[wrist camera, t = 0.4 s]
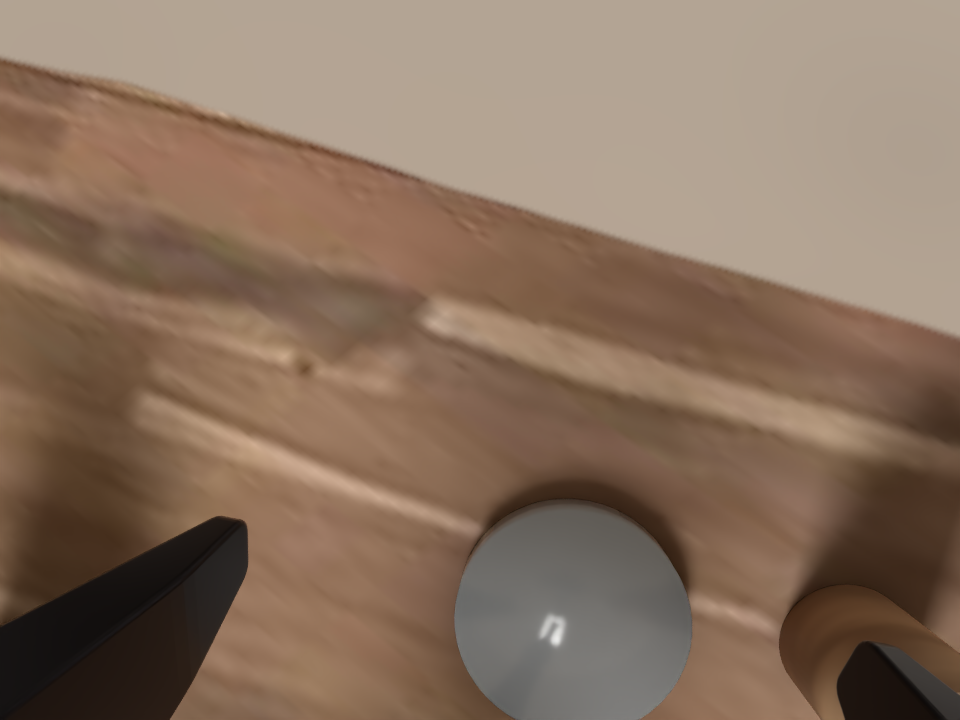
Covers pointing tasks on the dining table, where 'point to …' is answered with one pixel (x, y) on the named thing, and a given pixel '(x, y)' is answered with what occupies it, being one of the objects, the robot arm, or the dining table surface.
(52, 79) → the dining table surface
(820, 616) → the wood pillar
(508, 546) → the slate coaster
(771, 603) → the dining table surface
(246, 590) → the dining table surface
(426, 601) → the dining table surface
